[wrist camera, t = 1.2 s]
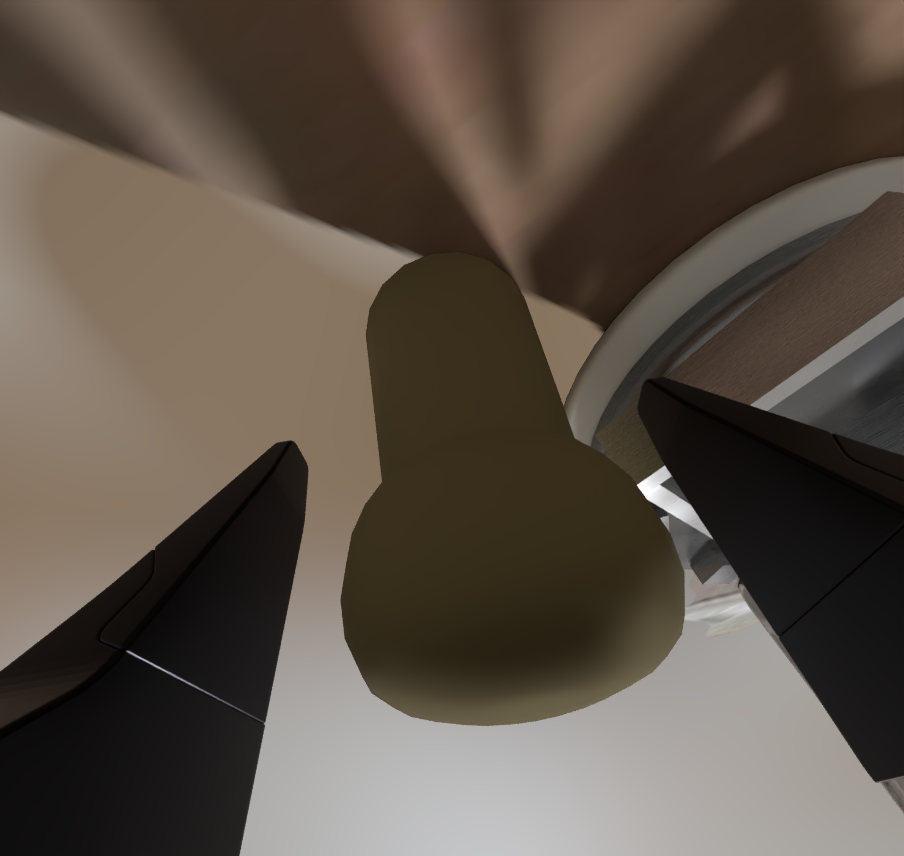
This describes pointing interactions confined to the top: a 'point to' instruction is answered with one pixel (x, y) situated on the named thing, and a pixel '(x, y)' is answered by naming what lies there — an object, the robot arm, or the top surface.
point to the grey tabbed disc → (780, 357)
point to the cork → (494, 520)
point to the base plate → (719, 273)
